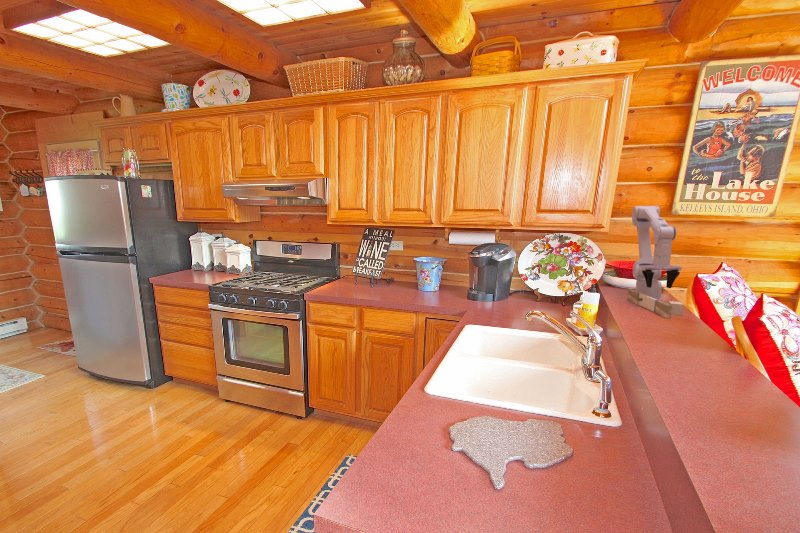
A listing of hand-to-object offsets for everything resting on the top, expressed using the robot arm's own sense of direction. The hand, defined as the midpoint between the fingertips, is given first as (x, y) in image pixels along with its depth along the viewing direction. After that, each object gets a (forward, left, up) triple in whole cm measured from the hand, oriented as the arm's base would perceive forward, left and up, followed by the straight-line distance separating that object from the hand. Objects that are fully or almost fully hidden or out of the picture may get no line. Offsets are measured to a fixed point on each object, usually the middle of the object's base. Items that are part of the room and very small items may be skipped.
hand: (658, 287), depth 148 cm
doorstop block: (-2, +9, -9) cm, 13 cm away
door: (+6, +3, -9) cm, 10 cm away
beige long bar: (+5, +2, -9) cm, 10 cm away
